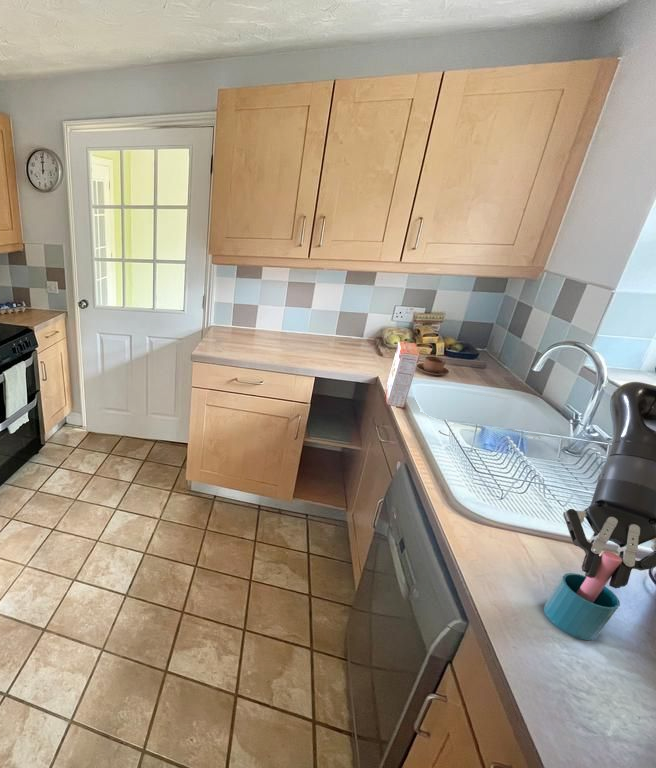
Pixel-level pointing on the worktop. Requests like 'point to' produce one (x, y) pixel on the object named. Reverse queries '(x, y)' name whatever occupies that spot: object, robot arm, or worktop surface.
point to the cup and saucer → (433, 366)
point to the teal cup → (579, 608)
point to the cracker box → (401, 374)
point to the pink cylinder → (599, 576)
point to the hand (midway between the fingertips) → (602, 581)
